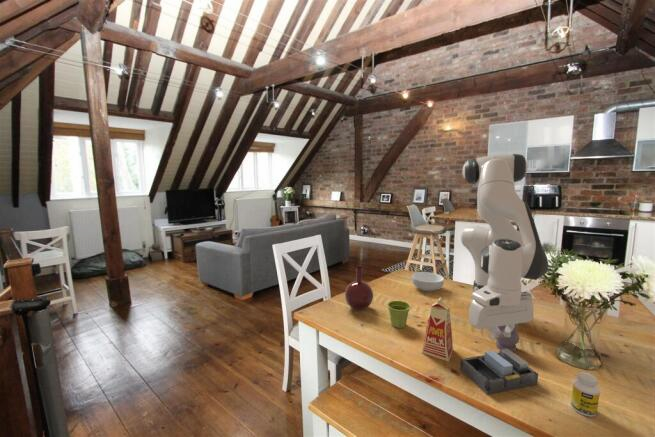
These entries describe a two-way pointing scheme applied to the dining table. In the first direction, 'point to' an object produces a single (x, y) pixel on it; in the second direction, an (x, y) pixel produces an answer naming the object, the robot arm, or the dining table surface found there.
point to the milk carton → (438, 332)
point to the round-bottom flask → (359, 292)
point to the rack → (492, 379)
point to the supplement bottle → (585, 394)
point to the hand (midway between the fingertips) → (500, 337)
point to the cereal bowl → (427, 281)
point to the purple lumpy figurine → (507, 338)
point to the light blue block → (498, 363)
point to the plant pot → (398, 313)
